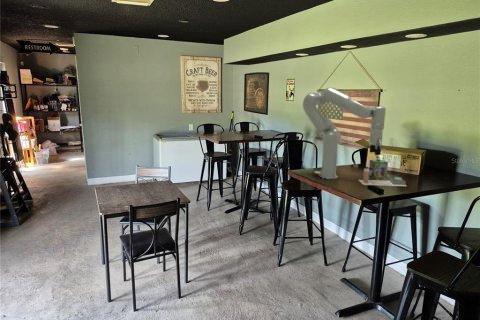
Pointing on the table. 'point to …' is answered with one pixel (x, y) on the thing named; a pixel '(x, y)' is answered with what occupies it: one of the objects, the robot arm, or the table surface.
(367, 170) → the rust marker
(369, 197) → the table surface
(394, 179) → the button
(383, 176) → the chalk box
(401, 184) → the colouring board
